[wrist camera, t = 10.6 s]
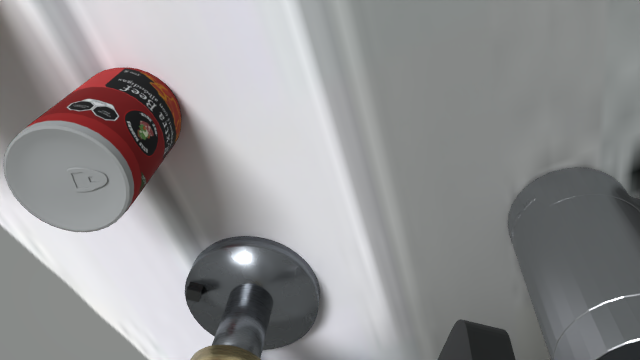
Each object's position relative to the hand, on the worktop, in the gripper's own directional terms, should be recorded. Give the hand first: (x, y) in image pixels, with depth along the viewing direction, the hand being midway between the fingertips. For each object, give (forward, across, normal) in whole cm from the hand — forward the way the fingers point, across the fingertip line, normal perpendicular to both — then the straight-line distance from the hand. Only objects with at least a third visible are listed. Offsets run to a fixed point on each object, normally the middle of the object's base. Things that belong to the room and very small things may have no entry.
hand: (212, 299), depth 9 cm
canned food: (+32, +13, +14) cm, 38 cm away
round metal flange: (+32, +1, +29) cm, 43 cm away
